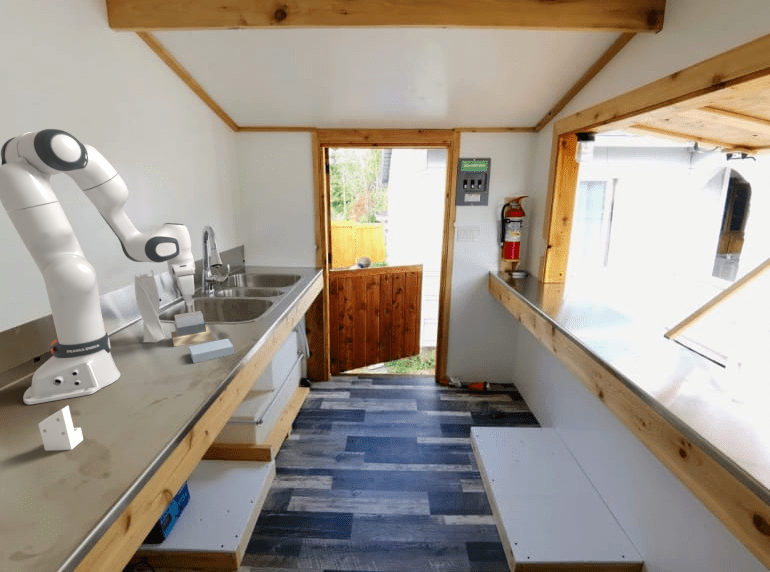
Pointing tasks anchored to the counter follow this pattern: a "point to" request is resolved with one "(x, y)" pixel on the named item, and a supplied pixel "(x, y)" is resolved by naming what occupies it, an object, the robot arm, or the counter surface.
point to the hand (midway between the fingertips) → (187, 302)
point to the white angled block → (60, 431)
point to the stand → (211, 350)
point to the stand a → (191, 338)
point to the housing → (189, 323)
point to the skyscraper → (149, 307)
